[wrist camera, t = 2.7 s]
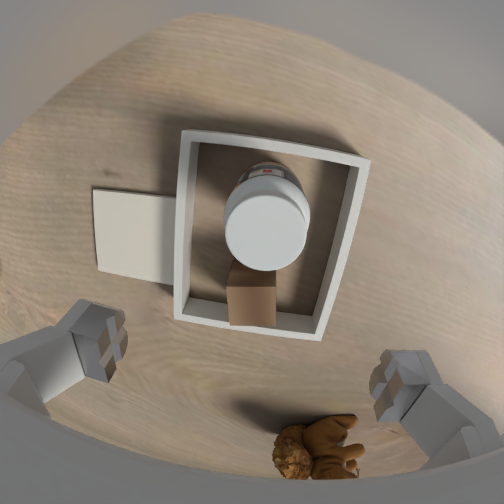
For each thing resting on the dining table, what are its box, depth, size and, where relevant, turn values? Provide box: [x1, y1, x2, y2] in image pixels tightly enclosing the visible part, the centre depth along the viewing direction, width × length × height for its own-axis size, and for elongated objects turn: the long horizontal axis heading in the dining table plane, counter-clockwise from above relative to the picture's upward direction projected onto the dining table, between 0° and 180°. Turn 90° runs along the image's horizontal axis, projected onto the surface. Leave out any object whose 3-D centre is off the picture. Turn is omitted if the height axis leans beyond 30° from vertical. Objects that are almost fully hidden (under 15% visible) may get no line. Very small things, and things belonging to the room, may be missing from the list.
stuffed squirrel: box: [272, 415, 365, 480], centre depth 34 cm, size 10×14×13 cm
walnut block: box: [226, 260, 276, 326], centre depth 27 cm, size 4×4×5 cm
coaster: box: [93, 189, 176, 285], centre depth 28 cm, size 9×9×1 cm
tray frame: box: [174, 129, 371, 341], centre depth 26 cm, size 15×18×3 cm
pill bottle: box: [224, 162, 310, 271], centre depth 21 cm, size 6×6×10 cm
